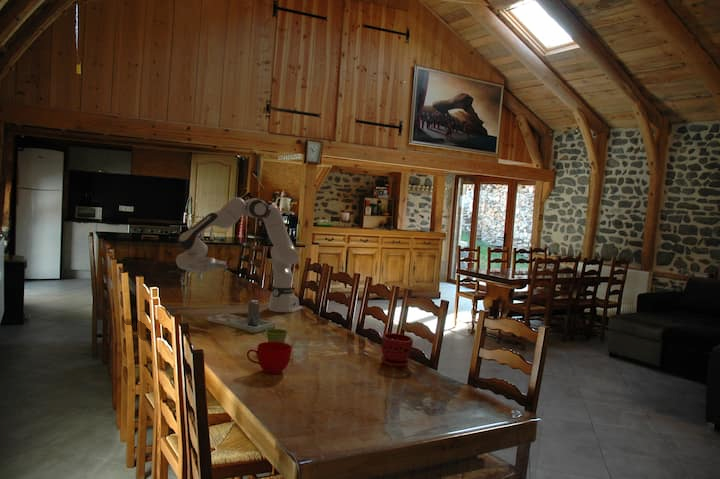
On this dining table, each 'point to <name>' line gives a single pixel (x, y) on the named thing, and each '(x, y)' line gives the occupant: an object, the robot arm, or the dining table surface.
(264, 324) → the bin
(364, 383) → the dining table surface
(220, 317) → the tray
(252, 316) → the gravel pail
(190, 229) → the robot arm
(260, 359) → the ceramic cup
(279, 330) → the plant pot
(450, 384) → the dining table surface
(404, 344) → the plant pot
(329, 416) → the dining table surface
